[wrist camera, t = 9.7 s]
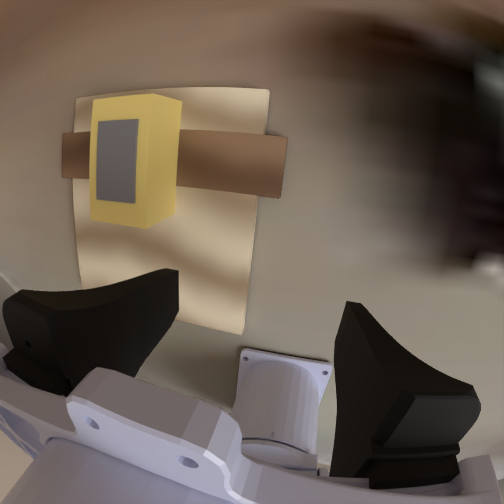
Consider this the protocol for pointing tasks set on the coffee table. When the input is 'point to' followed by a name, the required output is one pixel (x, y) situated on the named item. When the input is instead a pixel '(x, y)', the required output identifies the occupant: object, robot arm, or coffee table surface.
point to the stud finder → (134, 159)
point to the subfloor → (189, 203)
